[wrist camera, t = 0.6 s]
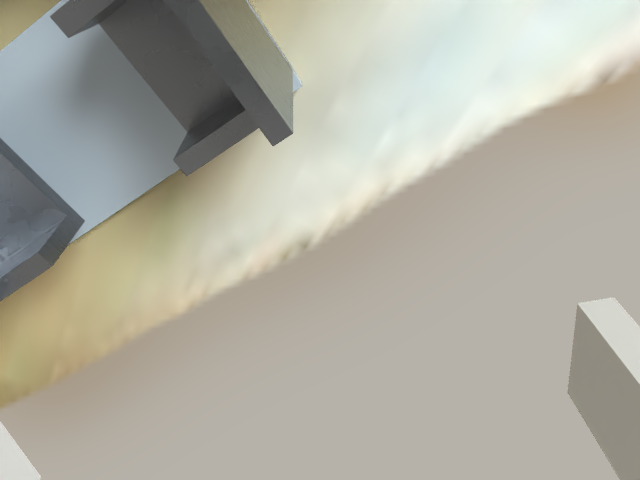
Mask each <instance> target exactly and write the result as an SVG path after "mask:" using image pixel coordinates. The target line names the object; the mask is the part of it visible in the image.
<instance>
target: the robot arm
mask: <svg viewBox="0 0 640 480" xmlns="http://www.w3.org/2000/svg"><path fill="white" fill-rule="evenodd" d="M568 394H569V395H570V397H571V399H572V401H573V402H574V404H575V406H576V407H577V409H578V410H579V412H580V414H581V415H582V417H583V419H584V421H585V422H586V424H587V426H588V427H589V429H590V431H591V432H592V434H593V436H594V437H595V439H596V441H597V442H598V444H599V446H600V447H601V449H602V451H603V452H604V454H605V456H606V457H607V459H608V461H609V462H610V464H611V466H612V467H613V469H614V470H615V472H616V474H617V475H618V477H619V479H620V480H640V327H639V326H638V325H637V323H636V322H635V321H634V320H633V319H632V318H631V316H630V315H629V314H628V313H627V312H626V311H625V310H624V309H623V307H622V306H621V305H620V304H619V303H618V302H617V301H616V299H615V298H614V297H613V298H607V299H601V300H595V301H589V302H583V303H578V304H577V313H576V322H575V330H574V340H573V349H572V358H571V367H570V376H569V385H568ZM40 479H41V476H40V475H39V473H38V472H37V471H36V469H35V468H34V466H33V465H32V464H31V462H30V461H29V460H28V458H27V457H26V456H25V454H24V453H23V451H22V450H21V449H20V447H19V446H18V445H17V443H16V442H15V440H14V439H13V438H12V437H11V435H10V434H9V432H8V431H7V430H6V428H5V427H4V425H3V424H2V423H1V421H0V480H40Z"/></svg>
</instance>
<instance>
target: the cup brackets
mask: <svg viewBox="0 0 640 480" xmlns="http://www.w3.org/2000/svg"><path fill="white" fill-rule="evenodd" d="M50 18H51V19H52V20H53V21H54V22H55V23H56V25H57V26H58V27H59V28H60V29H61V30H62V32H63V33H64V34H65V35H66V36H67V37H68V38H70V37H72V36H74V35H76V34H78V33H80V32H83V31H85V30H87V29H89V28H91V27H93V26H96V25H98V24H99V25H100V26H101V27H102V29H103V30H104V31H105V32H106V34H107V35H108V36H109V37H110V38H111V40H112V41H113V42H114V43H115V45H116V46H117V47H118V48H119V49H120V51H121V52H122V53H123V54H124V56H125V57H126V58H127V59H128V60H129V62H130V63H131V64H132V65H133V67H134V68H135V69H136V70H137V71H138V73H139V74H140V75H141V76H142V78H143V79H144V80H145V81H146V82H147V84H148V85H149V86H150V87H151V89H152V90H153V91H154V92H155V93H156V95H157V96H158V97H159V98H160V100H161V101H162V102H163V103H164V104H165V106H166V107H167V108H168V109H169V111H170V112H171V113H172V114H173V115H174V117H175V118H176V119H177V120H178V122H179V123H180V124H181V125H182V126H183V128H184V129H185V130H186V131H187V134H186V136H185V138H184V140H183V141H182V143H181V145H180V147H179V149H178V151H177V153H176V155H175V157H174V159H173V161H174V162H175V163H176V164H177V165H178V167H179V168H180V169H181V170H182V171H183V172H184V174H185V175H186V176H188V175H189V174H191V173H192V172H194V171H195V170H197V169H198V168H200V167H201V166H203V165H204V164H206V163H207V162H209V161H210V160H212V159H213V158H215V157H216V156H218V155H219V154H221V153H222V152H224V151H225V150H227V149H228V148H230V147H231V146H233V145H234V144H236V143H237V142H239V141H240V140H242V139H243V138H245V137H246V136H247V135H249V134H250V133H252V132H253V131H255V130H256V129H258V128H260V130H261V131H262V132H263V134H264V135H265V136H266V138H267V139H268V141H269V142H270V143H271V145H272V146H274V145H276V144H278V143H279V142H281V141H282V140H284V139H285V138H287V137H288V136H290V135H291V134H293V70H292V69H291V68H290V66H289V65H288V63H287V62H286V60H285V59H284V58H283V56H282V54H280V52H279V50H278V49H277V47H276V46H275V44H274V43H273V42H272V40H271V39H270V37H269V36H268V34H267V33H266V31H265V30H264V28H263V27H262V25H261V24H260V22H259V21H258V19H257V18H256V16H255V15H254V13H253V12H252V10H251V9H250V7H249V6H248V4H247V3H246V1H245V0H69V1H68V2H66V3H65V4H64V5H63V6H62V7H60V8H59V9H58V10H57V11H56V12H54V13H53V14H52V15H51V16H50ZM84 222H85V220H84V219H83V218H82V217H81V216H80V215H79V214H78V213H77V212H76V211H75V210H74V209H73V208H72V207H71V206H69V205H68V204H67V203H66V202H65V201H64V200H63V199H62V198H61V197H60V196H59V195H58V194H57V193H56V192H55V191H54V190H53V189H52V188H51V187H50V186H49V185H48V184H47V183H46V182H45V181H44V180H43V179H42V178H41V177H40V176H39V175H38V174H37V173H36V172H35V171H34V170H33V169H32V168H31V167H30V166H29V165H28V164H27V163H26V162H25V161H24V160H22V159H21V158H20V157H19V156H18V155H17V154H16V153H15V152H14V151H13V150H12V149H11V148H10V147H9V146H8V145H7V144H6V143H5V142H4V141H3V140H2V139H1V138H0V301H1V300H3V299H4V298H6V297H7V296H9V295H10V294H12V293H13V292H15V291H16V290H18V289H19V288H21V287H22V286H24V285H25V284H27V283H28V282H30V281H31V280H33V279H34V278H36V277H37V276H39V275H40V274H42V273H43V272H44V271H46V270H47V269H49V268H50V267H52V266H53V265H54V263H55V262H56V261H57V259H58V258H59V256H60V255H61V254H62V252H63V251H64V250H65V248H66V247H67V245H68V244H69V243H70V241H71V240H72V238H73V237H74V236H75V234H76V233H77V231H78V230H79V229H80V227H81V226H82V225H83V223H84Z"/></svg>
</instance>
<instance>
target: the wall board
mask: <svg viewBox="0 0 640 480" xmlns="http://www.w3.org/2000/svg"><path fill="white" fill-rule="evenodd" d="M68 1H69V0H61V1H60V2H58V3H57V4H56V5H55V6H54V7H52V8H51V9H50V10H49V11H48V12H46V13H45V14H44V15H43V16H42V17H40V18H39V19H38V20H37V21H36V22H35V23H33V24H32V25H31V26H30V27H29V28H27V29H26V30H25V31H24V32H23V33H21V34H20V35H19V36H18V37H17V38H15V39H14V40H13V41H12V42H11V43H9V44H8V45H7V46H6V47H5V48H3V49H2V50H1V51H0V138H1V139H2V140H3V141H4V142H5V143H6V144H7V145H8V146H9V147H10V148H11V149H12V150H13V151H14V152H15V153H16V154H17V155H18V156H19V157H20V158H21V159H22V160H24V161H25V162H26V163H27V164H28V165H29V166H30V167H31V168H32V169H33V170H34V171H35V172H36V173H37V174H38V175H39V176H40V177H41V178H42V179H43V180H44V181H45V182H46V183H47V184H48V185H49V186H50V187H51V188H52V189H53V190H54V191H55V192H56V193H57V194H58V195H59V196H60V197H61V198H62V199H63V200H64V201H65V202H66V203H67V204H68V205H69V206H71V207H72V208H73V209H74V210H75V211H76V212H77V213H78V214H79V215H80V216H81V217H82V218H83V219H84V220H85V222H84V223H83V225H82V226H81V227H80V229H79V230H78V231H77V233H76V234H75V236H74V237H73V238H72V240H71V241H70V243H71V242H73V241H74V240H76V239H77V238H79V237H80V236H82V235H83V234H85V233H86V232H88V231H89V230H91V229H92V228H93V227H95V226H96V225H98V224H99V223H101V222H102V221H104V220H105V219H107V218H108V217H110V216H111V215H113V214H114V213H116V212H117V211H119V210H120V209H122V208H123V207H125V206H126V205H127V204H129V203H130V202H132V201H133V200H135V199H136V198H138V197H139V196H141V195H142V194H144V193H145V192H147V191H148V190H150V189H151V188H153V187H154V186H156V185H157V184H158V183H160V182H161V181H163V180H164V179H166V178H167V177H169V176H170V175H172V174H173V173H175V172H176V171H178V170H179V169H180V168H179V167H178V165H177V164H176V163H175V162H174V161H173V159H174V157H175V155H176V153H177V151H178V149H179V147H180V145H181V143H182V141H183V140H184V138H185V136H186V134H187V131H186V130H185V129H184V128H183V126H182V125H181V124H180V123H179V122H178V120H177V119H176V118H175V117H174V115H173V114H172V113H171V112H170V111H169V109H168V108H167V107H166V106H165V104H164V103H163V102H162V101H161V100H160V98H159V97H158V96H157V95H156V93H155V92H154V91H153V90H152V89H151V87H150V86H149V85H148V84H147V82H146V81H145V80H144V79H143V78H142V76H141V75H140V74H139V73H138V71H137V70H136V69H135V68H134V67H133V65H132V64H131V63H130V62H129V60H128V59H127V58H126V57H125V56H124V54H123V53H122V52H121V51H120V49H119V48H118V47H117V46H116V45H115V43H114V42H113V41H112V40H111V38H110V37H109V36H108V35H107V34H106V32H105V31H104V30H103V29H102V27H101V26H100V25H99V24H98V25H96V26H93V27H91V28H89V29H87V30H85V31H83V32H80V33H78V34H76V35H74V36H72V37H70V38H68V37H67V36H66V35H65V34H64V33H63V32H62V30H61V29H60V28H59V27H58V26H57V25H56V23H55V22H54V21H53V20H52V19H51V18H50V16H51V15H52V14H53V13H54V12H56V11H57V10H58V9H59V8H60V7H62V6H63V5H64V4H65V3H66V2H68ZM245 1H246V3H247V4H248V6H249V7H250V9H251V10H252V12H253V13H254V15H255V16H256V18H257V19H258V21H259V22H260V24H261V25H262V27H263V28H264V30H265V31H266V33H267V34H268V36H269V37H270V39H271V40H272V42H273V43H274V44H275V46H276V47H277V49H278V50H279V52H280V54H282V56H283V58H284V59H285V60H286V62H287V63H288V65H289V66H290V68H291V69H292V70H293V68H292V67H291V65H290V64H289V62H288V61H287V59H286V57H285V56H284V54H283V53H282V51H281V50H280V48H279V47H278V45H277V44H276V42H275V41H274V39H273V38H272V36H271V35H270V33H269V32H268V30H267V29H266V27H265V26H264V24H263V23H262V21H261V20H260V18H259V17H258V15H257V14H256V12H255V11H254V9H253V8H252V6H251V5H250V3H249V2H248V0H245ZM300 87H302V82H301V80H300V79H299V77H298V76H297V74H296V73H295V71H294V70H293V92H294V91H296V90H297V89H299V88H300ZM70 243H69V244H70Z"/></svg>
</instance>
